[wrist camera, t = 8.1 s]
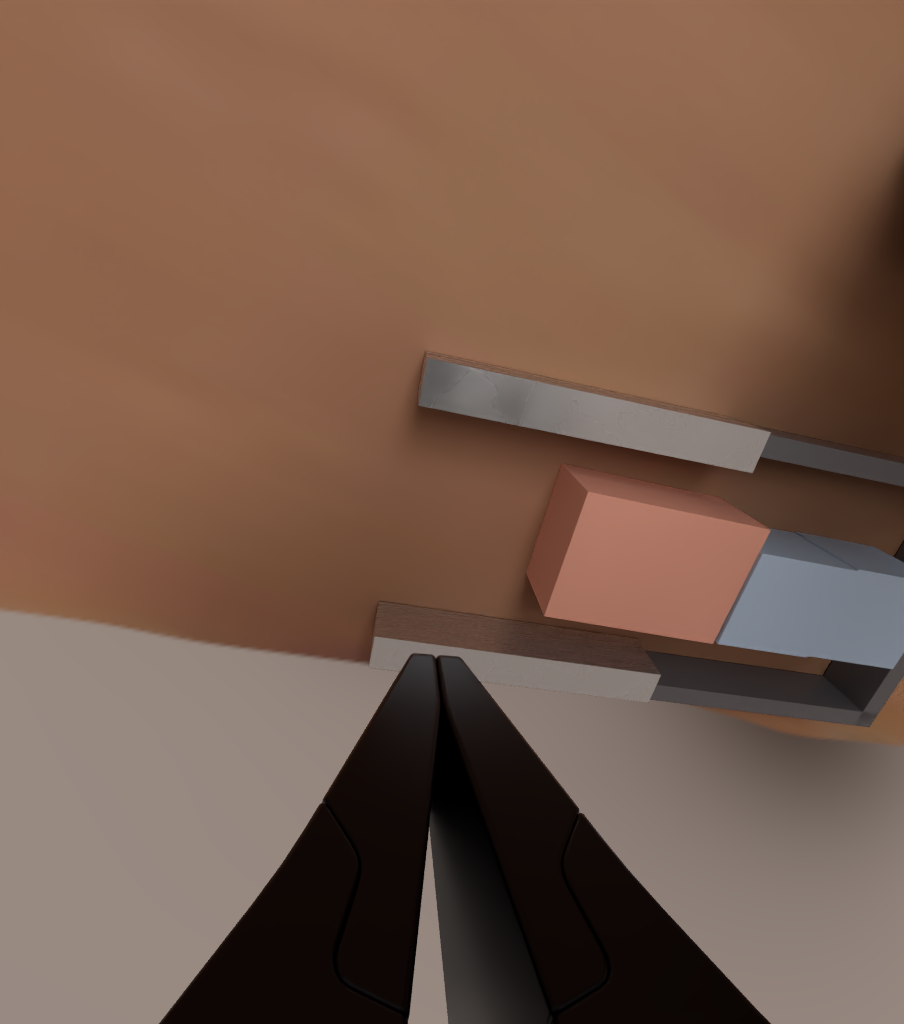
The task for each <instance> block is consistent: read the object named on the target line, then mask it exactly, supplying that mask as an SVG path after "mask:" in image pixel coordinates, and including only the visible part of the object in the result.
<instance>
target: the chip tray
mask: <svg viewBox="0 0 904 1024" xmlns="http://www.w3.org/2000/svg"><path fill="white" fill-rule="evenodd" d="M753 426H755V425H753ZM755 427H758V428H761V429H764V430H766V431H769V432H771V433H770V436H769V438H768V440H767V442H766V445H765V447H764V449H763V451H762V453H761V456H760V457H763V458H768V459H773V460H778V461H783V462H787V463H792V464H797V465H802V466H807V467H811V468H816V469H821V470H826V471H831V472H835V473H840V474H845V475H850V476H855V477H859V478H864V479H869V480H874V481H879V482H883V483H888V484H893V485H898V486H903V487H904V458H902V457H897V456H893V455H888V454H884V453H879V452H874V451H870V450H865V449H861V448H856V447H852V446H847V445H842V444H838V443H833V442H829V441H824V440H819V439H815V438H810V437H806V436H801V435H796V434H792V433H787V432H783V431H778V430H773V429H769V428H764V427H760V426H755ZM894 558H896V559H898V560H900V561H902V562H904V542H903V544H902V546H901V547H900V549H899V551H898V552H897V554H896V556H895V557H894ZM646 653H647V654H648V656H649V658H650V659H651V661H652V662H653V664H654V665H655V667H656V668H657V670H658V671H659V673H660V674H661V676H660V678H659V681H658V683H657V685H656V687H655V689H654V692H653V694H652V696H651V698H650V700H658V701H666V702H674V703H682V704H690V705H698V706H705V707H713V708H721V709H729V710H737V711H745V712H753V713H761V714H769V715H777V716H785V717H793V718H801V719H808V720H816V721H824V722H832V723H840V724H848V725H856V726H864V727H870V725H871V724H872V722H873V721H874V719H875V718H876V716H877V715H878V713H879V712H880V710H881V709H882V707H883V706H884V704H885V703H886V701H887V700H888V698H889V697H890V695H891V694H892V692H893V691H894V689H895V688H896V686H897V685H898V683H899V682H900V680H901V679H902V677H903V676H904V653H903V655H902V656H901V658H900V659H899V661H898V662H897V664H896V665H895V666H894V668H893V669H888V668H881V667H875V666H868V665H862V664H855V663H849V662H843V661H836V660H833V661H832V662H831V664H830V666H829V667H828V669H827V671H826V672H825V674H824V676H821V675H814V674H807V673H799V672H792V671H785V670H778V669H771V668H764V667H757V666H750V665H743V664H736V663H729V662H721V661H714V660H707V659H700V658H693V657H686V656H679V655H672V654H665V653H658V652H651V651H646Z"/></svg>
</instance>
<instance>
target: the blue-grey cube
mask: <svg viewBox="0 0 904 1024" xmlns="http://www.w3.org/2000/svg"><path fill="white" fill-rule="evenodd" d="M795 533H796V534H797V535H799V536H801V537H802V538H804V539H806V540H807V541H809V542H811V543H812V544H814V545H816V546H817V547H819V548H820V549H822V550H824V551H825V552H827V553H829V554H830V555H832V556H834V557H835V558H837V559H839V560H840V561H842V562H844V563H845V564H847V565H848V566H850V567H852V568H853V569H855V570H857V571H858V572H857V573H856V575H855V577H854V579H853V580H852V582H851V584H850V585H849V587H848V589H847V590H846V592H845V594H844V596H843V597H842V599H841V601H840V602H839V604H838V606H837V608H836V609H835V611H834V613H833V614H832V616H831V618H830V619H829V621H828V623H827V625H826V626H825V628H824V630H823V631H822V633H821V635H820V637H819V638H818V640H817V642H816V643H815V645H814V647H813V648H812V650H811V652H810V654H809V655H808V656H811V657H817V658H823V659H830V660H836V661H843V662H849V663H855V664H862V665H868V666H875V667H881V668H888V669H893V668H894V666H895V665H896V664H897V662H898V661H899V659H900V658H901V656H902V655H903V653H904V562H902V561H900V560H898V559H896V558H894V557H893V556H891V555H889V554H887V553H885V552H883V551H881V550H879V549H878V548H876V547H873V546H868V545H863V544H858V543H853V542H847V541H842V540H837V539H832V538H827V537H822V536H817V535H812V534H807V533H801V532H796V531H795Z"/></svg>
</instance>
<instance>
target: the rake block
mask: <svg viewBox="0 0 904 1024" xmlns="http://www.w3.org/2000/svg"><path fill="white" fill-rule="evenodd" d="M770 531H771V530H770V529H769V528H767V527H766V526H764V525H763V524H761V523H759V522H758V521H756V520H755V519H753V518H751V517H750V516H748V515H747V514H745V513H744V512H742V511H740V510H739V509H737V508H736V507H734V506H732V505H731V504H729V503H728V502H726V501H725V500H723V499H721V498H720V497H715V496H710V495H706V494H701V493H697V492H692V491H687V490H683V489H678V488H673V487H669V486H664V485H659V484H655V483H650V482H646V481H641V480H636V479H632V478H627V477H622V476H618V475H613V474H608V473H604V472H599V471H594V470H590V469H585V468H581V467H576V466H571V465H567V464H561V467H560V470H559V473H558V476H557V480H556V483H555V486H554V489H553V492H552V495H551V498H550V501H549V504H548V507H547V510H546V513H545V516H544V519H543V522H542V525H541V528H540V531H539V534H538V537H537V541H536V544H535V547H534V550H533V553H532V556H531V559H530V562H529V565H528V568H527V571H526V574H527V576H528V579H529V581H530V584H531V586H532V588H533V591H534V593H535V596H536V598H537V600H538V603H539V605H540V607H541V610H542V612H543V615H544V616H546V617H552V618H558V619H564V620H570V621H576V622H582V623H588V624H595V625H601V626H607V627H613V628H619V629H625V630H631V631H637V632H643V633H649V634H655V635H661V636H667V637H673V638H679V639H685V640H691V641H697V642H703V643H709V644H713V643H714V641H715V639H716V637H717V635H718V633H719V631H720V629H721V627H722V625H723V623H724V621H725V619H726V617H727V615H728V614H729V612H730V610H731V608H732V606H733V604H734V602H735V600H736V598H737V596H738V594H739V592H740V590H741V588H742V586H743V584H744V582H745V580H746V578H747V576H748V574H749V572H750V570H751V568H752V566H753V564H754V562H755V560H756V558H757V556H758V555H759V553H760V551H761V549H762V547H763V545H764V543H765V541H766V539H767V537H768V535H769V533H770Z"/></svg>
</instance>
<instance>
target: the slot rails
mask: <svg viewBox="0 0 904 1024" xmlns="http://www.w3.org/2000/svg"><path fill="white" fill-rule="evenodd" d="M418 406H423V407H428V408H433V409H438V410H443V411H448V412H453V413H458V414H463V415H468V416H473V417H478V418H482V419H487V420H492V421H497V422H502V423H507V424H512V425H517V426H522V427H527V428H532V429H537V430H542V431H547V432H552V433H557V434H562V435H566V436H571V437H576V438H581V439H586V440H591V441H596V442H601V443H606V444H611V445H616V446H621V447H626V448H631V449H636V450H641V451H646V452H650V453H655V454H660V455H665V456H670V457H675V458H680V459H685V460H690V461H695V462H700V463H705V464H710V465H715V466H720V467H725V468H729V469H734V470H739V471H744V472H749V473H753V471H754V469H755V467H756V464H757V462H758V460H759V458H760V456H761V453H762V451H763V449H764V447H765V445H766V442H767V440H768V438H769V436H770V433H771V432H769V431H766V430H764V429H761V428H758V427H755V426H753V425H750V424H747V423H744V422H742V421H739V420H736V419H733V418H731V417H727V416H722V415H718V414H713V413H709V412H704V411H699V410H695V409H690V408H686V407H681V406H677V405H672V404H667V403H663V402H658V401H654V400H649V399H645V398H640V397H635V396H631V395H626V394H622V393H617V392H612V391H608V390H603V389H599V388H594V387H590V386H585V385H580V384H576V383H571V382H567V381H562V380H558V379H553V378H548V377H544V376H539V375H535V374H530V373H526V372H521V371H516V370H512V369H507V368H503V367H498V366H494V365H489V364H484V363H480V362H475V361H471V360H466V359H462V358H457V357H452V356H448V355H443V354H439V353H434V352H430V351H426V352H425V357H424V363H423V368H422V373H421V379H420V384H419V389H418ZM413 653H420V654H432V655H434V656H435V658H436V657H437V656H438V655H447V656H458V657H460V658H462V659H463V661H464V662H465V663H466V665H467V666H468V667H469V668H470V670H471V671H472V672H473V673H474V675H475V676H476V677H477V679H478V680H479V681H480V682H487V683H495V684H503V685H511V686H519V687H527V688H535V689H543V690H551V691H560V692H567V693H575V694H584V695H591V696H599V697H607V698H615V699H623V700H631V701H639V702H647V703H648V702H649V700H650V698H651V696H652V694H653V692H654V689H655V687H656V685H657V683H658V681H659V678H660V676H661V674H660V673H659V671H658V670H657V668H656V667H655V665H654V664H653V662H652V661H651V659H650V658H649V656H648V654H647V653H646V651H645V650H644V648H643V647H642V645H641V644H640V642H639V641H638V639H637V638H631V637H624V636H617V635H610V634H603V633H596V632H589V631H582V630H576V629H569V628H562V627H555V626H548V625H541V624H534V623H527V622H520V621H513V620H506V619H499V618H492V617H486V616H479V615H472V614H465V613H458V612H451V611H444V610H437V609H430V608H423V607H416V606H409V605H402V604H396V603H389V602H382V601H379V603H378V608H377V613H376V619H375V624H374V629H373V637H372V645H371V653H370V661H369V668H375V669H384V670H391V671H399V672H400V671H401V669H402V667H403V666H404V664H405V663H406V661H407V659H408V658H409V656H410V655H411V654H413Z"/></svg>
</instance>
